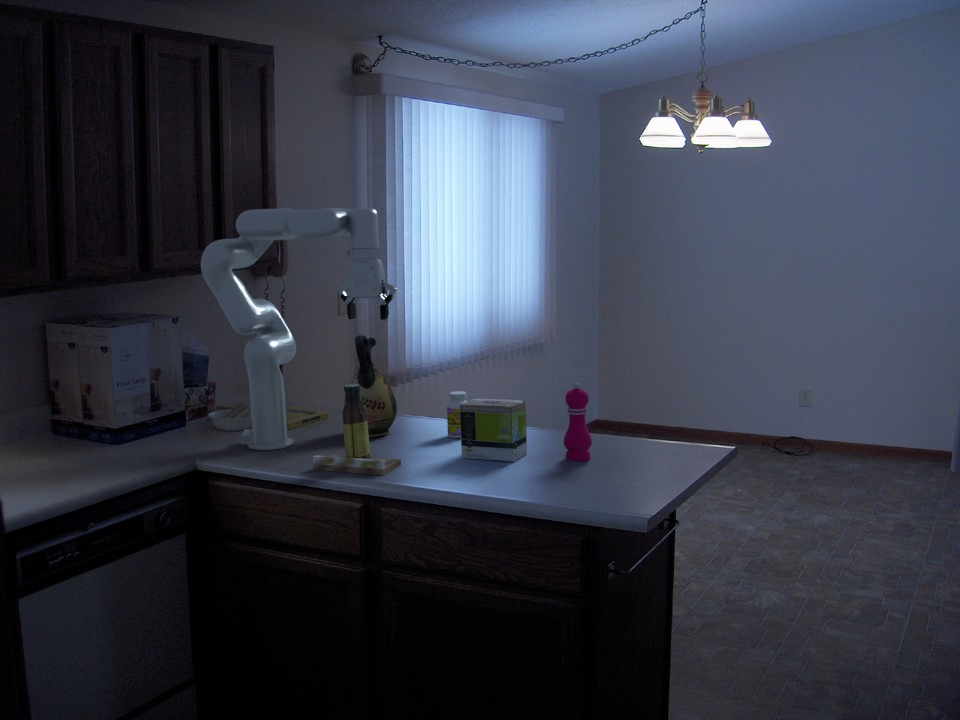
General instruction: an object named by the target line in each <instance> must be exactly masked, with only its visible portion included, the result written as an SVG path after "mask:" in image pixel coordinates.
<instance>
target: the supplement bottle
mask: <svg viewBox="0 0 960 720" xmlns="http://www.w3.org/2000/svg"><path fill="white" fill-rule="evenodd" d="M449 398H450V400H449V401H448V402H447V404H446V420H447V421H446V423H447V424H446V425H447V436H448V437H449V438H451V439H455V438H461V424H460V404H463V403H465V402H468V401H469V400H467V399H466V398H467V392H466V391H463V390H462V391H459V390H458V391H451V392H450V393H449Z"/></svg>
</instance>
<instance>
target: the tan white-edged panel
mask: <svg viewBox="0 0 960 720" xmlns="http://www.w3.org/2000/svg"><path fill="white" fill-rule="evenodd" d="M400 465H401V466H402V460H401V459H399V458H398V459H397V458H396V459H395V458H385V457H384V458H383V457H373V456H372V457H371V456H370V459H358V458H346V454H345V455H343V454H331V455H329V456H328V455H313V456H312V466H313V470H315V471H329V472H339V473H350V472H351V474H363V473H364V474H365V473H366V475H375V474H379V475H378V476H385V475H386V474H388V473H389V471H390V472H392V471H393V470H395V469H397V468H398V466H399V467H400ZM396 467H397V468H396ZM394 468H395V469H394ZM391 470H392V471H391ZM387 472H388V473H387ZM385 473H386V474H385ZM384 474H385V475H384Z"/></svg>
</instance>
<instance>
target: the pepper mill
mask: <svg viewBox="0 0 960 720" xmlns="http://www.w3.org/2000/svg"><path fill="white" fill-rule="evenodd" d="M564 399H565V403H566V405H567V406H568V407H567V414H568V416H569V421H568V422H569V423H568V426H567V430H566V432H565V434H564V437H563V446H564V447H565V449H567V451H566V452H565V460H566V461H569V462H575V463H579V462H580V463H583V462H587V461H589V460H590V459H591V452H590V451H589V449H590V448H591V446H592V444H593V441H592V437H591V434H590V432H589V430H588V426H587V423H586V414H587V413H588V410H587V409H588V407H587V405H588V404H589V402H590V401H589V399H590V398H589V394H588V392H587V391H586V390H585V389H583V388H581V384H580V383H579V382H575V383H574V384H573V385H572V389H569V390H568V391H567V392H566V394H565V398H564Z"/></svg>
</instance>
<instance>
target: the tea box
mask: <svg viewBox="0 0 960 720" xmlns="http://www.w3.org/2000/svg"><path fill="white" fill-rule="evenodd" d="M467 401H468V402H465V403H463V404H460V424H461V439H460V444H461V445H460V446H461V458H462V459H471V460H473V459H474V460H487V461H499V462H512V463H513V462H515V461H517V460H520V459H521V458H523V457H524V456H526V455H527V454H528V453H527V450H528V444H527V443H528V442H527V441H528V440H527V438H528V436H527V414H526V413H527V412H526V411H527V410H526V400H525V399H524V400H523V399H503V398H499V399H498V398H479V397H478V398H473V399H471V400H467Z"/></svg>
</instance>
